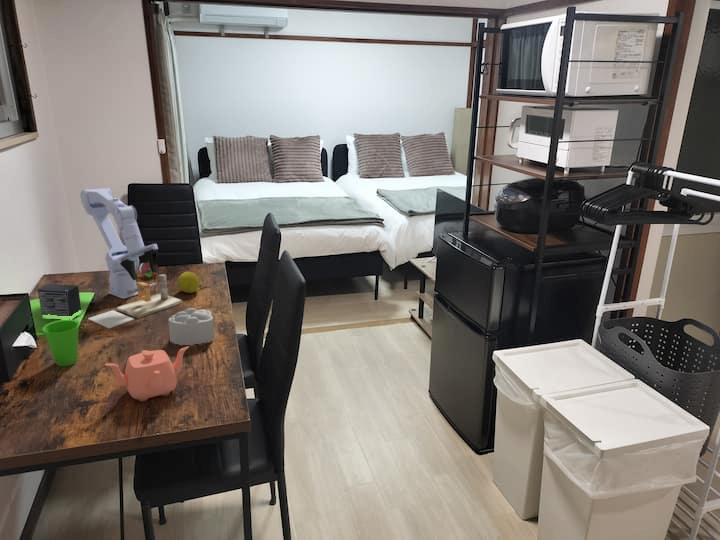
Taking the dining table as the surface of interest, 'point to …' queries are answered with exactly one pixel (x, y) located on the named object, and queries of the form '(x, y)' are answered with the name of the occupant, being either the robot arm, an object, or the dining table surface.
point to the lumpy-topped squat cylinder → (191, 327)
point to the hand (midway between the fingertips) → (145, 275)
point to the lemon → (188, 282)
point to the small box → (59, 299)
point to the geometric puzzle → (146, 269)
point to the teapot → (149, 373)
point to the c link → (146, 291)
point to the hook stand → (156, 303)
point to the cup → (63, 340)
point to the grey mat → (111, 319)
